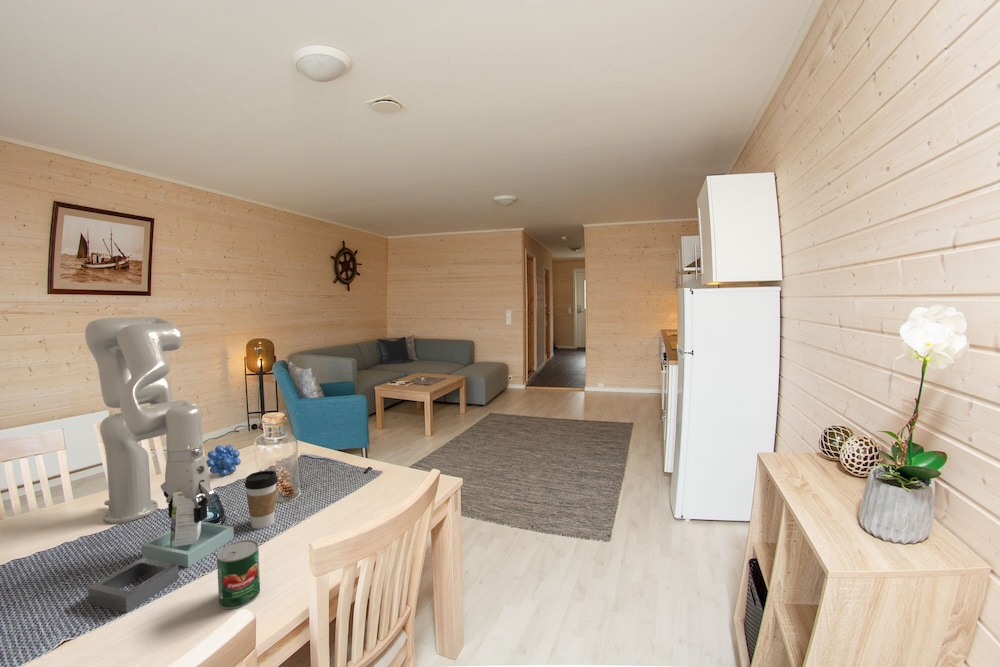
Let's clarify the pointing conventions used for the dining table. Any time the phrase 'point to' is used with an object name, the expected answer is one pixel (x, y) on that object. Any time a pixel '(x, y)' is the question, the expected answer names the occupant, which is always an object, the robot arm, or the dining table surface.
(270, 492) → the coffee cup
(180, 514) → the syrup box
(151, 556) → the tray
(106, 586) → the collar
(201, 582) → the dining table surface
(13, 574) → the dining table surface
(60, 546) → the dining table surface
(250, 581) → the canned tomato
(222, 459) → the grapes
